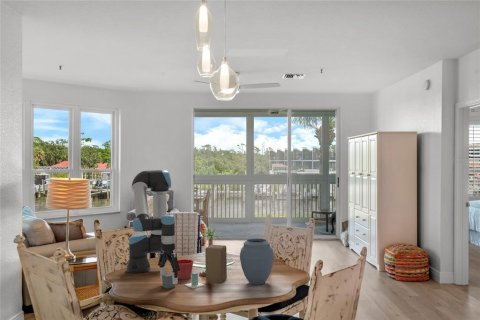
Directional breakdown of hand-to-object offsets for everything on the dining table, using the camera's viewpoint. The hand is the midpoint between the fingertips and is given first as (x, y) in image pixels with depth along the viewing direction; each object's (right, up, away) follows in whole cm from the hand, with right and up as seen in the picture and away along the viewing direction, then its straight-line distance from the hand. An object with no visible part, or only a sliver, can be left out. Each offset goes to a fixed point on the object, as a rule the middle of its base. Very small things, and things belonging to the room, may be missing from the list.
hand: (168, 281), depth 232 cm
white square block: (+14, -3, +2) cm, 15 cm away
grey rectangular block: (0, -3, 0) cm, 3 cm away
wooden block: (+26, -3, +11) cm, 28 cm away
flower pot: (+6, -4, +20) cm, 21 cm away
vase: (+49, -3, +5) cm, 50 cm away
